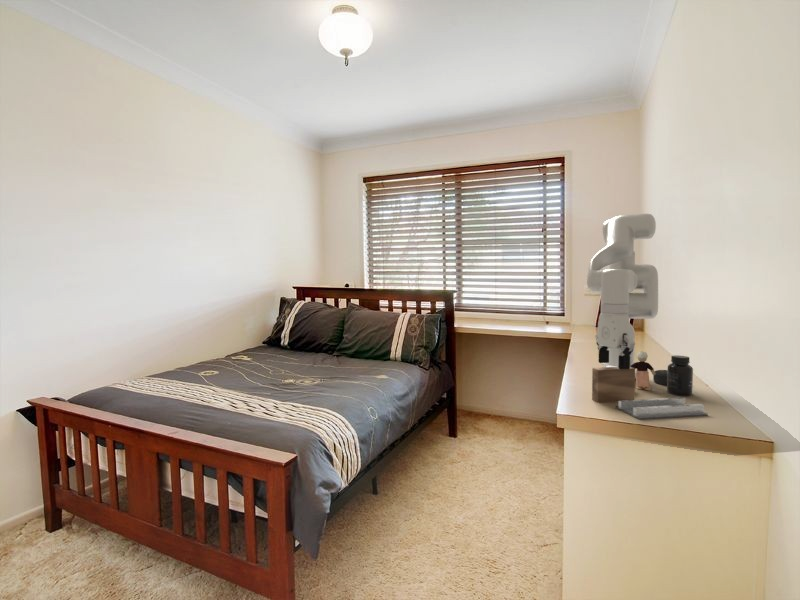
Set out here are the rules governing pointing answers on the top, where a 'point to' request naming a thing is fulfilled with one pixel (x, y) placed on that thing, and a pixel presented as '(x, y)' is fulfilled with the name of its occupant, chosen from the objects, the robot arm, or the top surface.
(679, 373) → the supplement bottle
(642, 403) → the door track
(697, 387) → the top surface
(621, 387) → the walnut door panel
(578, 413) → the top surface
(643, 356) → the grandmother figurine
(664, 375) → the smart speaker
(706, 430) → the top surface
